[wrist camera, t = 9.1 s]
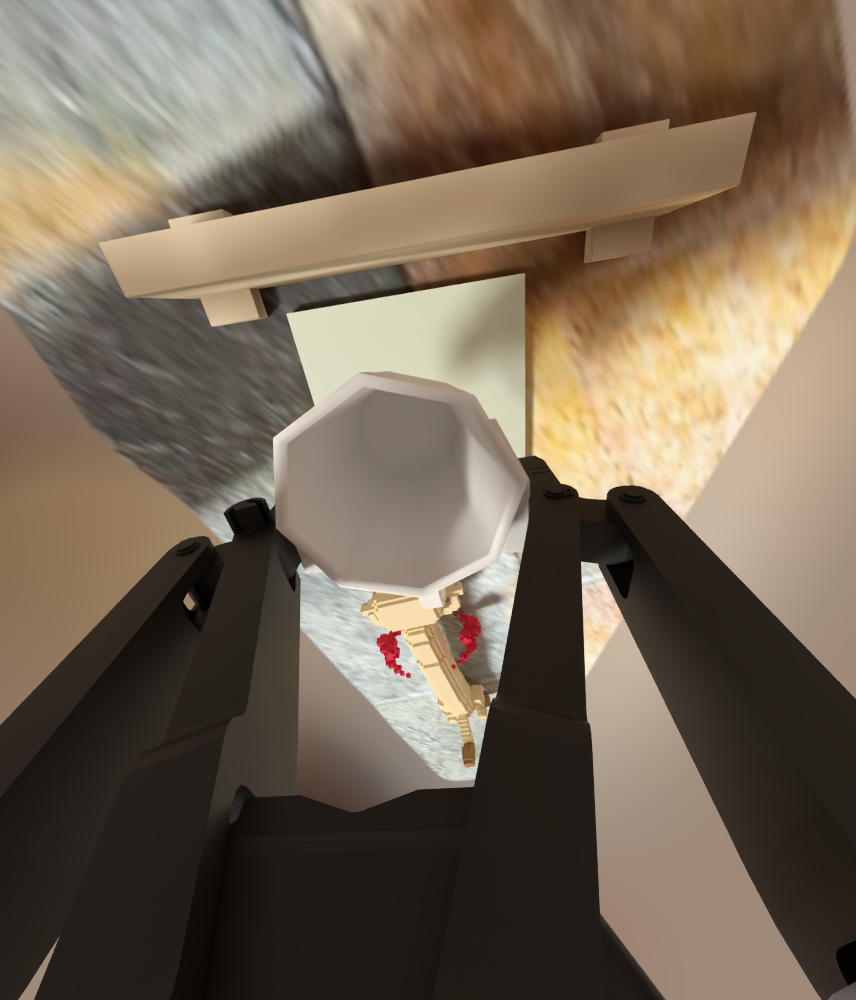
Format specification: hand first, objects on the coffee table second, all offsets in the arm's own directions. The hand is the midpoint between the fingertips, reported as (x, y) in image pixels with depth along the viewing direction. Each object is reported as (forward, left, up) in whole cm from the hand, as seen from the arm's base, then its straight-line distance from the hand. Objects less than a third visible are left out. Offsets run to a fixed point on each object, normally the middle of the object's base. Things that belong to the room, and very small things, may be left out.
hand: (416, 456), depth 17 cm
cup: (0, 0, 0) cm, 1 cm away
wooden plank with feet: (-10, +1, -8) cm, 13 cm away
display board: (0, 0, -8) cm, 8 cm away
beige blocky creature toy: (+23, -2, -8) cm, 25 cm away
